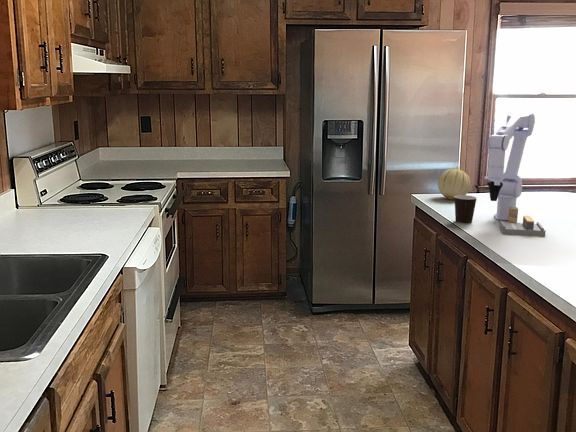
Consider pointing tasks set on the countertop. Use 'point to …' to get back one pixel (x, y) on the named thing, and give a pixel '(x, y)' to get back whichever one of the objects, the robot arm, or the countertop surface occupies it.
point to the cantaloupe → (453, 183)
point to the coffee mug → (464, 208)
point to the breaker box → (521, 229)
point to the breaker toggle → (528, 222)
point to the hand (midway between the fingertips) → (493, 200)
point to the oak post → (512, 215)
